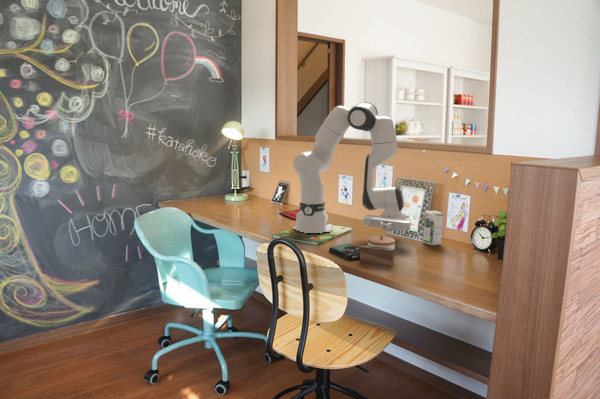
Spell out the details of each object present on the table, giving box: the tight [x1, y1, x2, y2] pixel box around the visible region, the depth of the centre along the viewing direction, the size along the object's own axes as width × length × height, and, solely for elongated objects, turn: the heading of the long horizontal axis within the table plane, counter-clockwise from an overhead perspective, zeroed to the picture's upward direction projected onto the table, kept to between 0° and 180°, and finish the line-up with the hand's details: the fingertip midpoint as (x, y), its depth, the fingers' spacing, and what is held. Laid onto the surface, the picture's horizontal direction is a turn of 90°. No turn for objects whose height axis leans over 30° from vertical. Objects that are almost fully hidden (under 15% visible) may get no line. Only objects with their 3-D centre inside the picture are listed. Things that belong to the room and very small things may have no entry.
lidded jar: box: [367, 234, 396, 250], centre depth 183 cm, size 11×11×9 cm
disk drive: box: [328, 243, 360, 262], centre depth 189 cm, size 10×3×15 cm
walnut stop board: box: [359, 245, 395, 267], centre depth 177 cm, size 2×12×6 cm, turn 71°
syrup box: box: [422, 210, 444, 246], centre depth 206 cm, size 6×6×14 cm
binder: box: [278, 208, 300, 221], centre depth 263 cm, size 16×2×21 cm
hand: (384, 226), depth 194 cm, fingers closed
